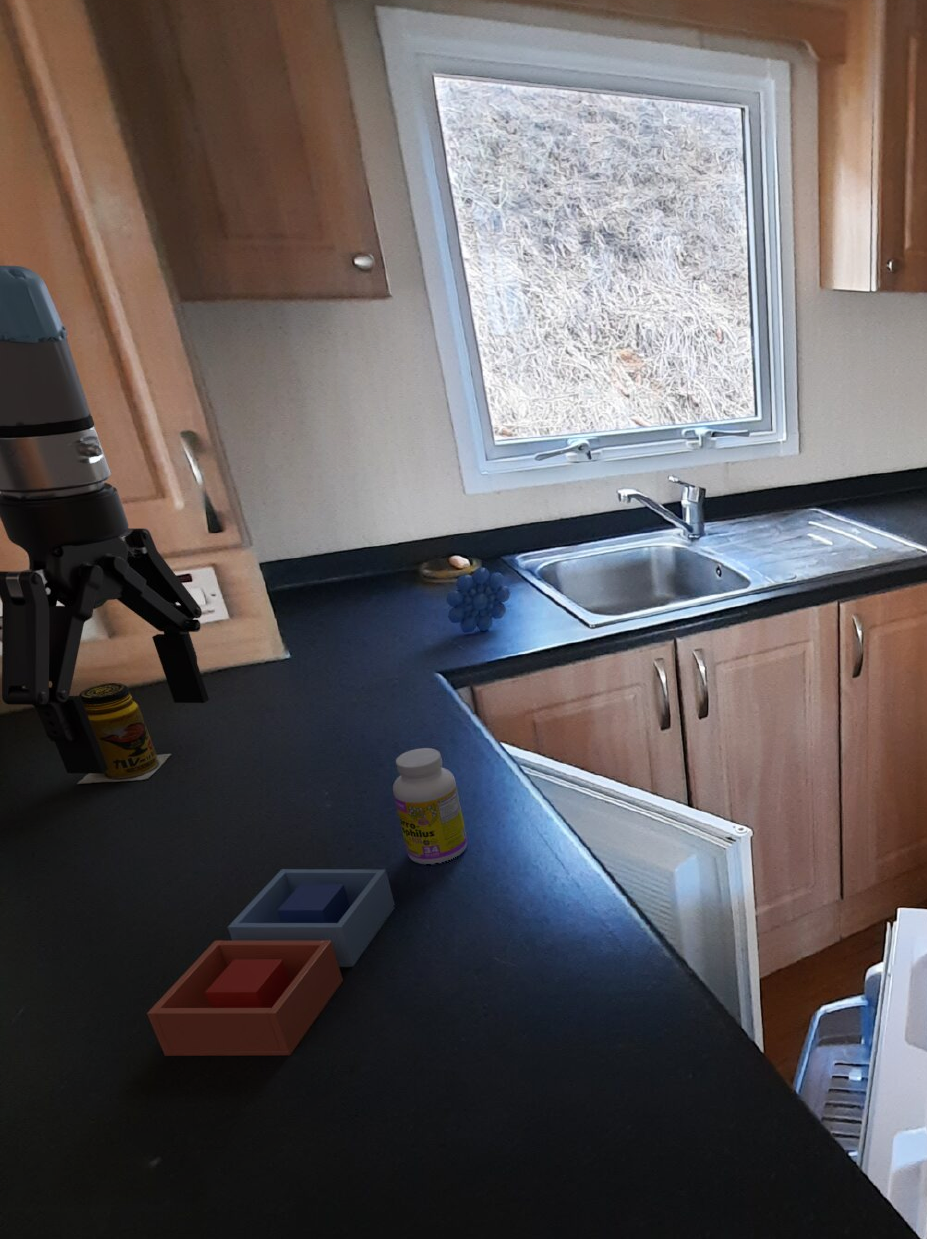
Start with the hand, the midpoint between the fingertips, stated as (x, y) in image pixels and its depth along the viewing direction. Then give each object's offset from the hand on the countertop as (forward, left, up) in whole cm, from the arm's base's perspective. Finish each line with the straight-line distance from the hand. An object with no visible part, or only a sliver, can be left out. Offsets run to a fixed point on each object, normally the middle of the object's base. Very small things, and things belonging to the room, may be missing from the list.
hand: (143, 734), depth 84 cm
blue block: (+6, +6, -26) cm, 27 cm away
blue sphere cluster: (-9, +98, -27) cm, 102 cm away
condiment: (-38, +42, -27) cm, 63 cm away
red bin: (+6, -6, -27) cm, 28 cm away
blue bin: (+6, +6, -27) cm, 28 cm away
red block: (+6, -6, -26) cm, 27 cm away
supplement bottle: (+12, +22, -27) cm, 37 cm away
